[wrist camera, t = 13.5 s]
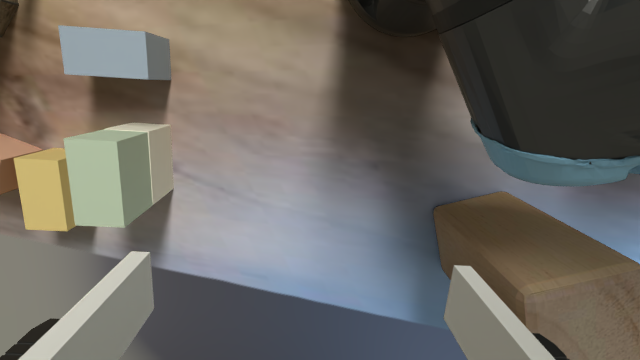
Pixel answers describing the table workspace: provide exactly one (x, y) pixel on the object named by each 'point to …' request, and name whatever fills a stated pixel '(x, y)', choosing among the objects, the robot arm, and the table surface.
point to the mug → (6, 13)
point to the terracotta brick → (11, 160)
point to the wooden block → (546, 274)
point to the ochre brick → (45, 190)
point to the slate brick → (114, 53)
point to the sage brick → (109, 177)
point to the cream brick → (156, 155)
